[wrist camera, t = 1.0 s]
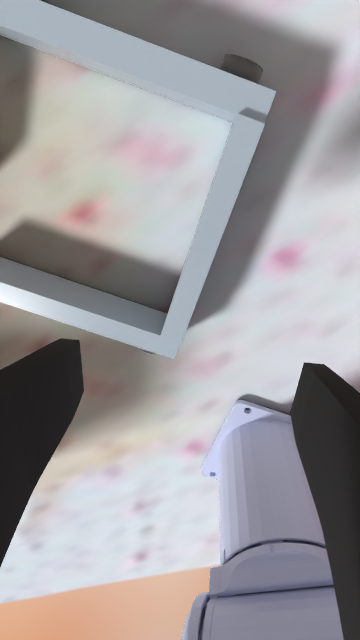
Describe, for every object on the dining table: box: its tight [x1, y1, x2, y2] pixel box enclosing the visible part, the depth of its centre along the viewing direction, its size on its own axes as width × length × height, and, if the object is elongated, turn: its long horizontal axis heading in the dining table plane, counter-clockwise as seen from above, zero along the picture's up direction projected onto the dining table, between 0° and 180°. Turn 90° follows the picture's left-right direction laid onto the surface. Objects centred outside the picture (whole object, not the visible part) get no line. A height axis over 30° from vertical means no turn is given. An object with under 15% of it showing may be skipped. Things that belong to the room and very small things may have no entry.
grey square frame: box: [0, 0, 277, 359], centre depth 17 cm, size 13×15×3 cm
